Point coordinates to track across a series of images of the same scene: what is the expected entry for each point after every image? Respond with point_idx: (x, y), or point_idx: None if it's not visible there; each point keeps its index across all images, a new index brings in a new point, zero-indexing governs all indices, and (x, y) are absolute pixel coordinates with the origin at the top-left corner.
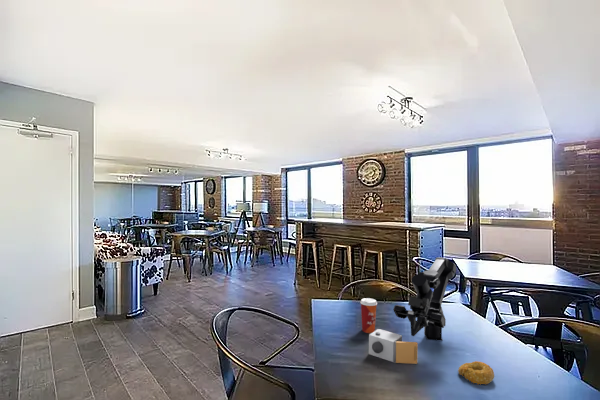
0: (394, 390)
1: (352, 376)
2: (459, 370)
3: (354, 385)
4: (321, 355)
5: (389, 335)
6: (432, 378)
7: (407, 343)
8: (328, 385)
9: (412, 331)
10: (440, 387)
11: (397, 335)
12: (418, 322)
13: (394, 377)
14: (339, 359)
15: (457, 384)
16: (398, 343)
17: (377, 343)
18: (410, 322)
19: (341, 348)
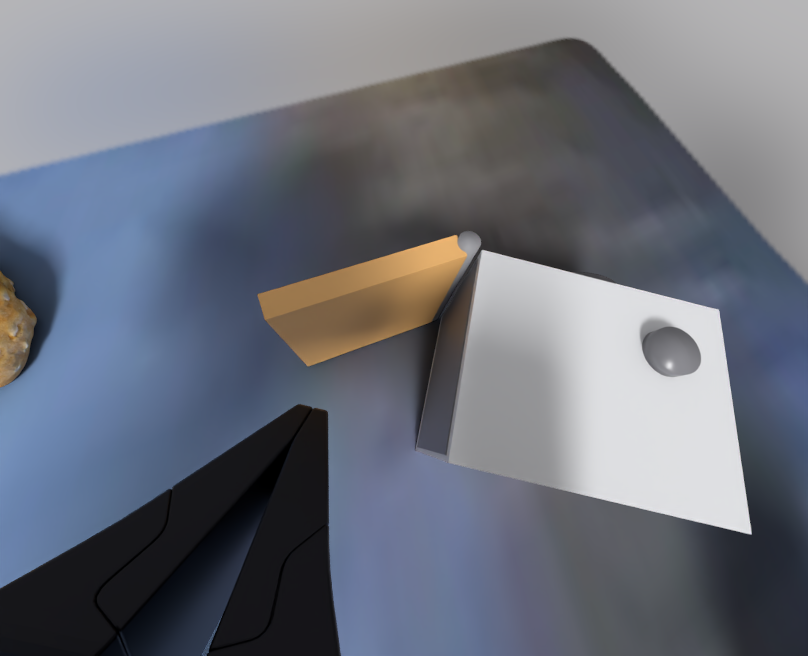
0: (384, 101)
1: (554, 135)
2: (10, 301)
3: (520, 91)
4: (755, 240)
5: (564, 382)
6: (223, 231)
7: (358, 267)
8: (590, 71)
9: (302, 431)
10: (193, 171)
11: (492, 426)
12: (42, 619)
13: (402, 180)
14: (673, 237)
15: (94, 221)
16: (435, 245)
17: (590, 275)
18: (328, 600)
19: (745, 355)
